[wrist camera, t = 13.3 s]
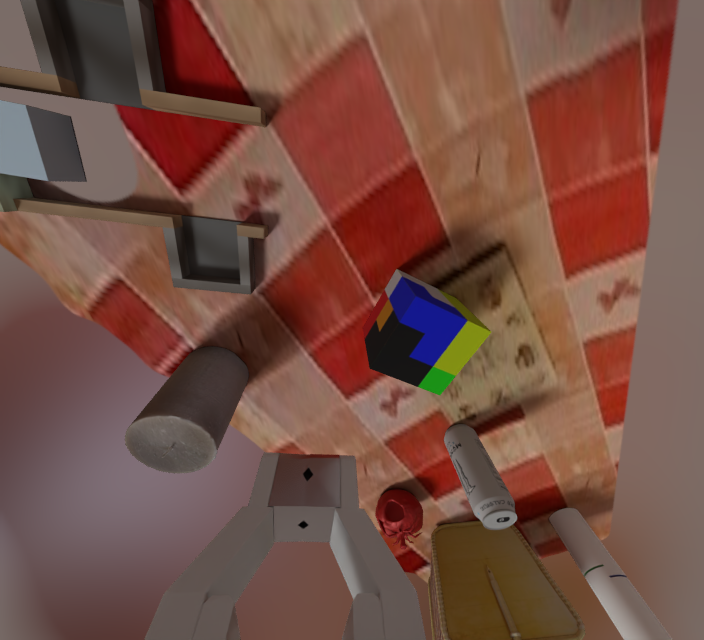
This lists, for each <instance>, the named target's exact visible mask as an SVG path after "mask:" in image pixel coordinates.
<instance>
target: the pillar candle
mask: <svg viewBox="0 0 704 640" xmlns="http://www.w3.org/2000/svg"><path fill="white" fill-rule="evenodd" d="M248 377H249V373H248V368H247V366H246V365H245V363H244V362H243V361H242V360H241V359H240V358H239V357H238V356H237V355H235V354H234V353H233V352H231V351H229V350H227V349H224V348H220V347H213V346H211V347H203V348H200V349H197V350H195V351H193V352H192V353H190V354H189V355H188V356H187V357H186V359H185V360H184V361H183V362H182V363H181V365H180V366H179V367H178V368H177V370H176V371H175V372H174V373H173V374H172V375H171V377H170V378H169V379H168V380H167V382H166V383H165V384H164V385H163V386H162V387H161V389H160V390H159V391H158V392H157V394H155V396H154V397H153V399H152V400H151V401H150V402H149V403H148V404H147V406H146V407H145V408H144V409H143V411H142V412H141V413H140V414H139V415H138V417H137V418H136V419H135V420H134V422H133V423H132V424H131V425H130V426H129V428H128V429H127V431H126V435H125V442H126V446H127V448H128V449H129V451H130V453H131V454H132V455H133V456H134V457H135V458H136V459H137V460H139V461H140V462H142V463H144V464H145V465H147V466H149V467H151V468H154V469H156V470H159V471H163V472H168V473H189V472H194V471H197V470H200V469H202V468H203V467H206V466H207V465H209V464H210V463H211V461H212V460H213V459H215V458H216V454H217V450H218V448H219V445H220V443H221V441H222V439H223V437H224V434H225V432H226V430H227V427H228V425H229V423H230V421H231V418H232V416H233V414H234V412H235V409H236V407H237V405H238V403H239V400H240V398H241V396H242V393H243V391H244V389H245V387H246V384H247V382H248Z"/></svg>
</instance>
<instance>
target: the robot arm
mask: <svg viewBox="0 0 704 640" xmlns="http://www.w3.org/2000/svg"><path fill="white" fill-rule="evenodd" d="M294 541H295V542H296V541H306V542H330V546H331V548H332V550H333V553H334V555H335V557H336V560H337V562H338V564H339V567H340V569H341V571H342V574H343V576H344V578H345V581H346V583H347V585H348V587H349V590H350V592H351V594H352V597H353V599H354V600H353V602H352V606H351V609H350V613H349V616H348V619H347V623H346V626H345V630H344V633H343V637H342V640H426V638H425V633H424V628H423V622H422V617H421V612H420V607H419V602H418V597H417V591H416V590H415V589H414V587H413V585H412V583H411V582H410V581H409V579H408V577H407V576H406V574H405V573H404V571H403V569H402V568H401V566H400V565H399V563H398V562H397V560H396V558H395V557H394V555H393V554H392V552H391V551H390V549H389V548H388V546H387V544H386V543H385V541H384V540H383V538H382V537H381V535H380V533H379V532H378V530H377V529H376V527H375V526H374V524H373V522H372V521H371V519H370V518H369V516H368V515H367V513H366V512H365V510H364V509H360V508H359V500H358V485H357V471H356V459H355V456H342V455H340V456H339V455H322V454H310V455H305V454H287V453H267V452H264V454H263V456H262V458H261V462H260V465H259V469H258V473H257V476H256V479H255V483H254V487H253V490H252V494H251V497H250V501H249V504H248V506H247V507H242V508H241V509H240V510H239V511H238V512H237V514H236V515H235V516H234V517H233V518H232V519H231V520H230V521H229V522H228V524H227V525H226V526H225V527H224V528H223V529H222V530H221V531H220V532H219V533H218V535H217V536H216V537H215V538H214V539H213V540H212V541H211V542H210V543H209V544H208V546H207V547H206V548H205V549H204V550H203V551H202V552H201V553H200V554H199V555H198V557H197V558H196V559H195V560H194V561H193V562H192V563H191V564H190V565H189V567H188V568H187V569H186V570H185V571H184V572H183V573H182V575H180V576H179V578H178V579H177V580H176V581H175V582H174V583H173V584H172V585H171V586H170V587H169V589H168V590H167V591H166V592H165V593H164V595H163V597H162V600H161V602H160V604H159V607H158V609H157V611H156V614H155V616H154V619H153V621H152V623H151V625H150V628H149V630H148V632H147V635H146V637H145V639H144V640H241V639H240V633H239V627H238V621H237V615H236V609H235V603H236V602H237V600H238V599H239V597H240V596H241V594H242V592H243V591H244V589H245V588H246V586H247V585H248V583H249V582H250V580H251V579H252V577H253V576H254V574H255V572H256V571H257V569H258V568H259V566H260V565H261V563H262V562H263V560H264V559H265V557H266V555H267V554H268V552H269V551H270V549H271V548H272V546H273V544H274V542H294Z"/></svg>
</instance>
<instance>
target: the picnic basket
mask: <svg viewBox="0 0 704 640" xmlns="http://www.w3.org/2000/svg"><path fill="white" fill-rule="evenodd" d="M431 547H432V561H431V575H430V577H429V580H428V592H429V602H430V613H431V623H432V635H433V640H582V639H583V637H584V635H585V628H584V624H583V622H582V620H581V618H580V616H579V614H578V613H577V612H576V610H575V609H574V608H573V606H572V605H571V603H570V602H569V600H568V599H567V598H566V596H565V595H564V593H563V592H562V590H561V589H560V588H559V586H558V585H557V584H556V582H555V581H554V579H553V578H552V577H551V575H550V574H549V572H548V571H547V570H546V568H545V567H544V565H543V564H542V562H541V561H540V560H539V558H538V557H537V555H536V554H535V553H534V551H533V550H532V548H531V547H530V546H529V544H528V543H527V541H526V540H525V539H524V537H523V536H522V534H521V533H520V531H519V530H518V529H517V528H516V527H515V526H514V525H511V526H509V527H507V528H504V529H500V530H490V529H487V528H485V527H484V526H483V523H482V522H481V521H480V520H479V521H470V522H460V523H451V524H444V525H440V526H438V527H437V528H436V529H434V531H433V533H432V534H431Z"/></svg>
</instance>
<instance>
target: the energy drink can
mask: <svg viewBox="0 0 704 640" xmlns="http://www.w3.org/2000/svg"><path fill="white" fill-rule="evenodd" d="M444 442H445V445H446V447H447V450H448V452H449V454H450V457H451V459H452V462H453V464H454V466H455V469H456V471H457V474H458V476H459V479H460V481H461V483H462V486H463V488H464V491H465V493H466V495H467V498H468V500H469V503H470V505H471V508H472V510H473V512H474V515H475V516H476V517H477V518H478V519H479V520H480V521H481V522H482V523H483V526H484V527H485V528H487V529H490V530H500V529H504V528H507V527H509V526H511V525H512V524H514V523H515V522H516V520H517V515H516V513H515V503H514V500H513V498H512V497H511V495H510V493H509V491H508V489H507V488H506V486H505V484H504V482H503V480H502V479H501V477H500V475H499V473H498V471H497V470H496V468H495V466H494V464H493V462H492V461H491V459H490V457H489V455H488V453H487V452H486V450H485V448H484V446H483V444H482V443H481V441H480V439H479V437H478V436H477V434H476V432H475V430H474V429H473V428H471V427H469V426H467V425H465V424H457V425H454V426H452V427H450V428H449V429H448V430H447V431H446V433H445V437H444Z"/></svg>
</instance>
